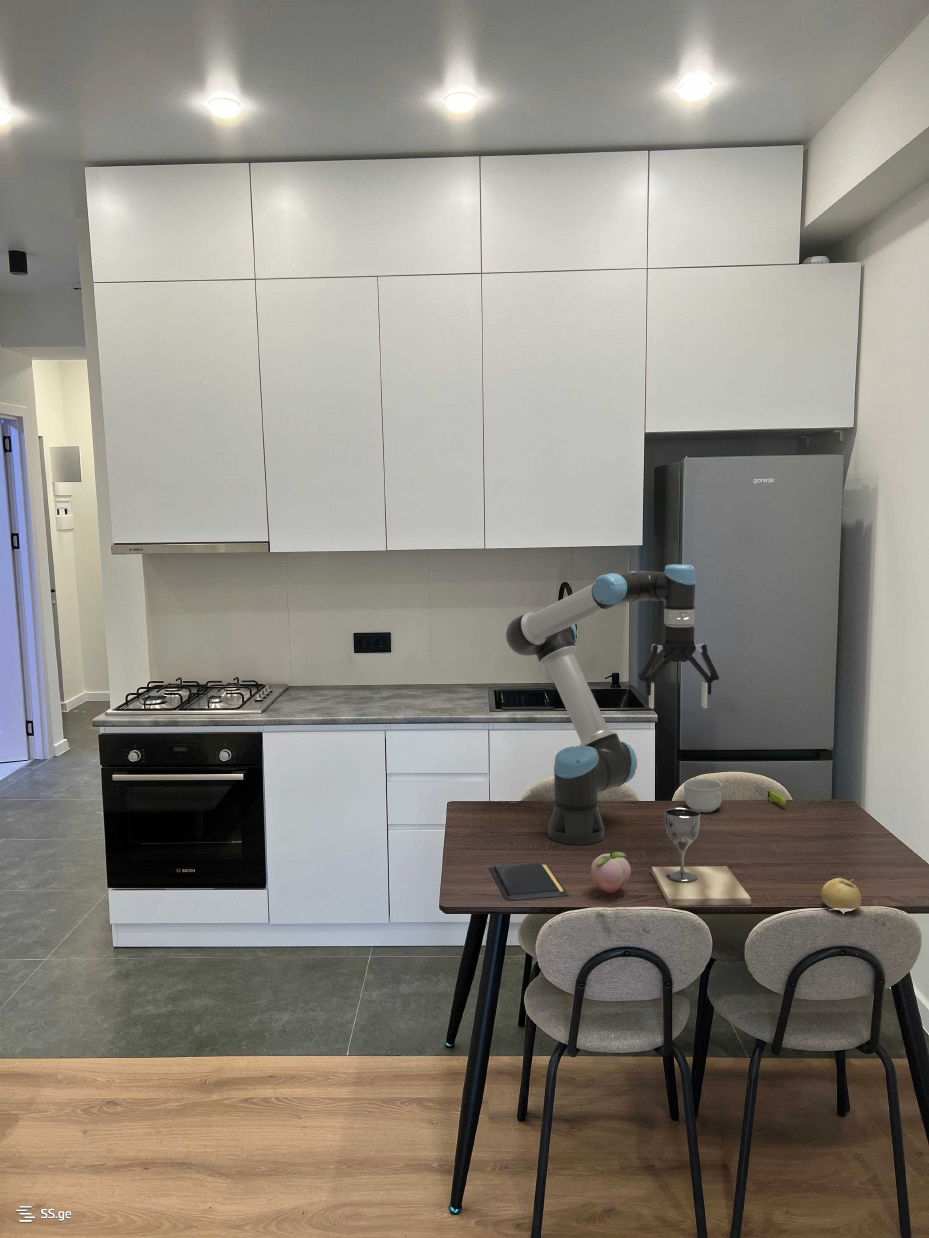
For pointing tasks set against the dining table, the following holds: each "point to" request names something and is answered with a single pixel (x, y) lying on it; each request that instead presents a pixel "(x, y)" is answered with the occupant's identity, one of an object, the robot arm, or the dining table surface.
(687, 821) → the wine glass
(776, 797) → the kitchen knife
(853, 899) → the onion
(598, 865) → the decorative fruit
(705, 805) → the teacup
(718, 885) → the board
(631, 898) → the dining table surface
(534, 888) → the wallet
